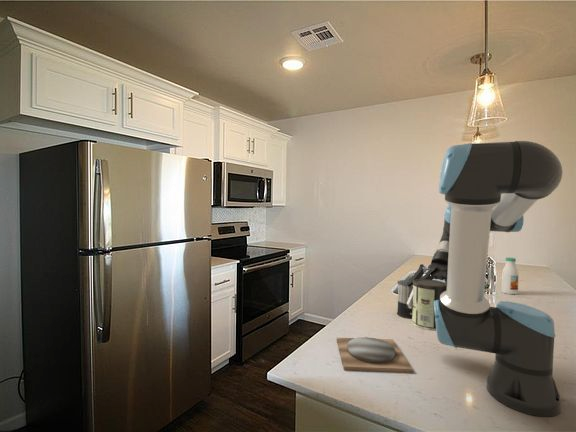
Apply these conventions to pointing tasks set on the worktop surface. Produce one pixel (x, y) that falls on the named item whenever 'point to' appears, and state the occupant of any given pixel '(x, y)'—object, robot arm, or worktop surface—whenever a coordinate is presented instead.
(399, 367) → the mount board
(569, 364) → the worktop surface
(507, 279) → the milk bottle
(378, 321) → the worktop surface
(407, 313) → the milk frother
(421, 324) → the coffee can
